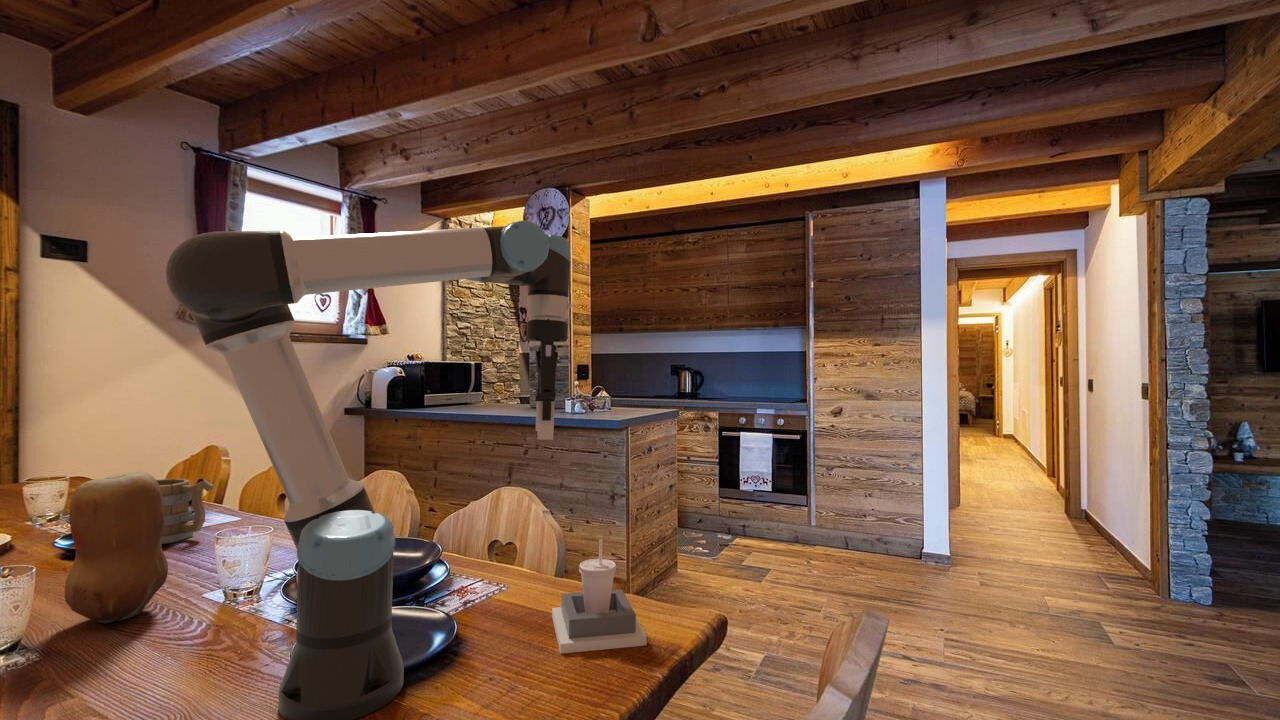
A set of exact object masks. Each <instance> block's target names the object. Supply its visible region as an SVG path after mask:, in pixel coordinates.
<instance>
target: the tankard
mask: <svg viewBox="0 0 1280 720" xmlns="http://www.w3.org/2000/svg"><path fill="white" fill-rule="evenodd" d="M156 481H157V482H158V484H159V487H160V490H161V496H162V505H163V512H164V524H163V528H162V532H161V545H164V544H166V545H167V544H174V543H177V542H179V541H183V540H186V539H189V538H192V537H193V536H194V533H195V532H199V531H201V530H202V528H203V525H204V523H205V522H206V509H205V507H204V504H203V495H202V494H203V493H202V491H203V490H205V491H206V492H211V491H213V489H214V488H215V485H214V484H213V483H212V482H211V481H209V480H207V479H204V480H202V481H200V482H198V483H195V484H192V485H191V484H190V479H189V478H163V479H162V478H161V479H156ZM189 502H191V506H192V507H191V506H189ZM192 509H193V511H192ZM193 513H194V521H193V523H189V521H190V520H191V517H192V514H193Z"/></svg>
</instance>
